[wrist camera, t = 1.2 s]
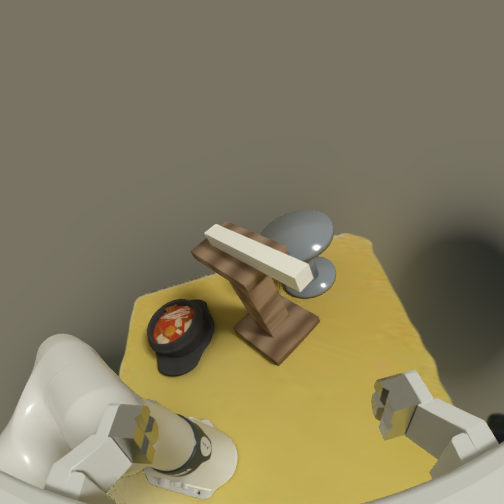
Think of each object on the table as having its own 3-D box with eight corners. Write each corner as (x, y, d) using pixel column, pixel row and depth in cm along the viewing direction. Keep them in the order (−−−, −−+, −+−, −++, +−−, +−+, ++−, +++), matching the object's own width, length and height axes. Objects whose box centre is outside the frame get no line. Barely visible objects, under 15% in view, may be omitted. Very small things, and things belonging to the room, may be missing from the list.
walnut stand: (323, 323, 68) (293, 238, 52) (282, 367, 63) (234, 293, 47) (271, 293, 81) (233, 216, 65) (233, 330, 76) (182, 257, 60)
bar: (313, 278, 44) (308, 264, 42) (300, 292, 43) (294, 278, 41) (221, 235, 61) (215, 223, 59) (210, 244, 60) (204, 233, 58)
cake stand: (280, 312, 75) (259, 270, 65) (275, 264, 89) (256, 223, 79) (351, 292, 71) (341, 245, 62) (334, 246, 85) (323, 202, 76)
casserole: (167, 309, 91) (153, 292, 86) (221, 298, 87) (208, 278, 82) (150, 381, 72) (131, 365, 67) (212, 376, 67) (195, 359, 62)
